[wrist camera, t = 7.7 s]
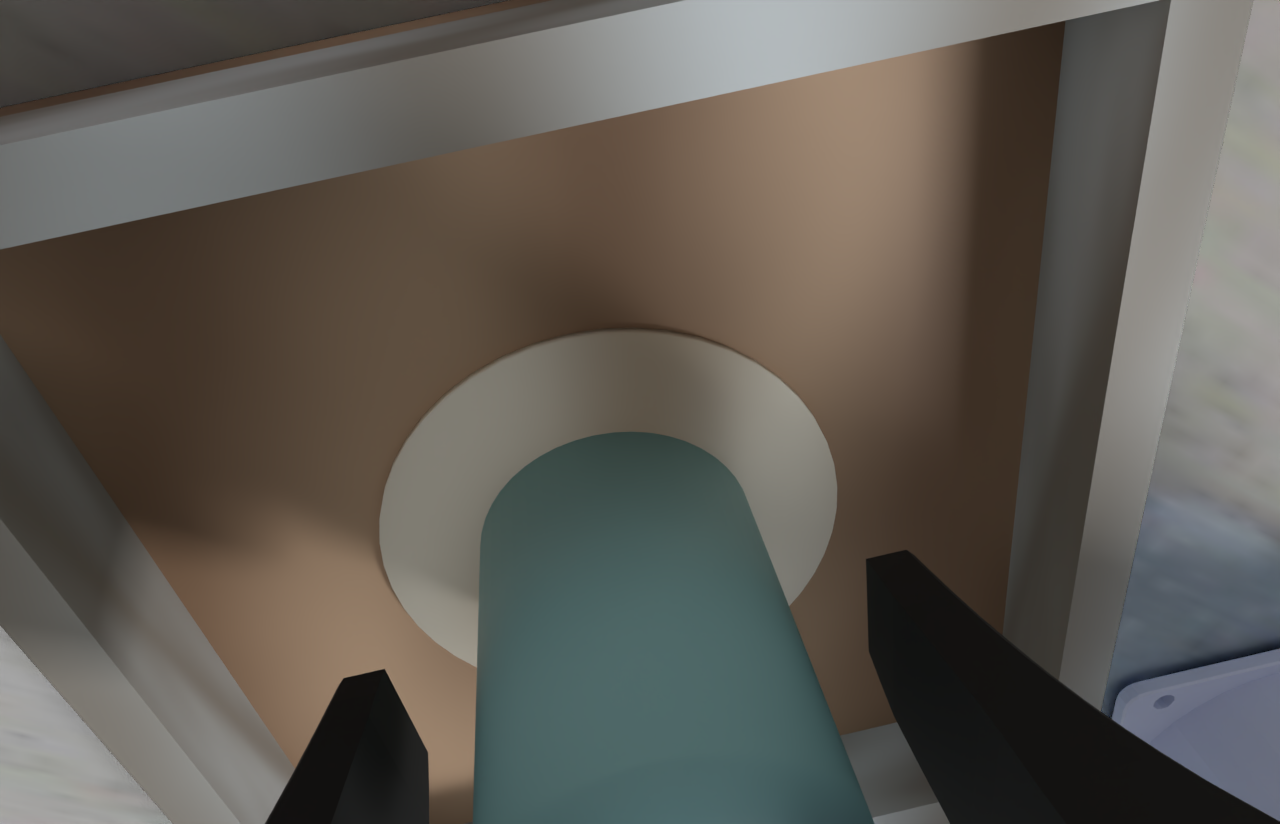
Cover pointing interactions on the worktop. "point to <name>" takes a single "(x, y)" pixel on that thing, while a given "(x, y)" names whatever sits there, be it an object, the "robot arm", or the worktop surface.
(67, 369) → the corral
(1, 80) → the worktop surface
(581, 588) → the teal cylinder
